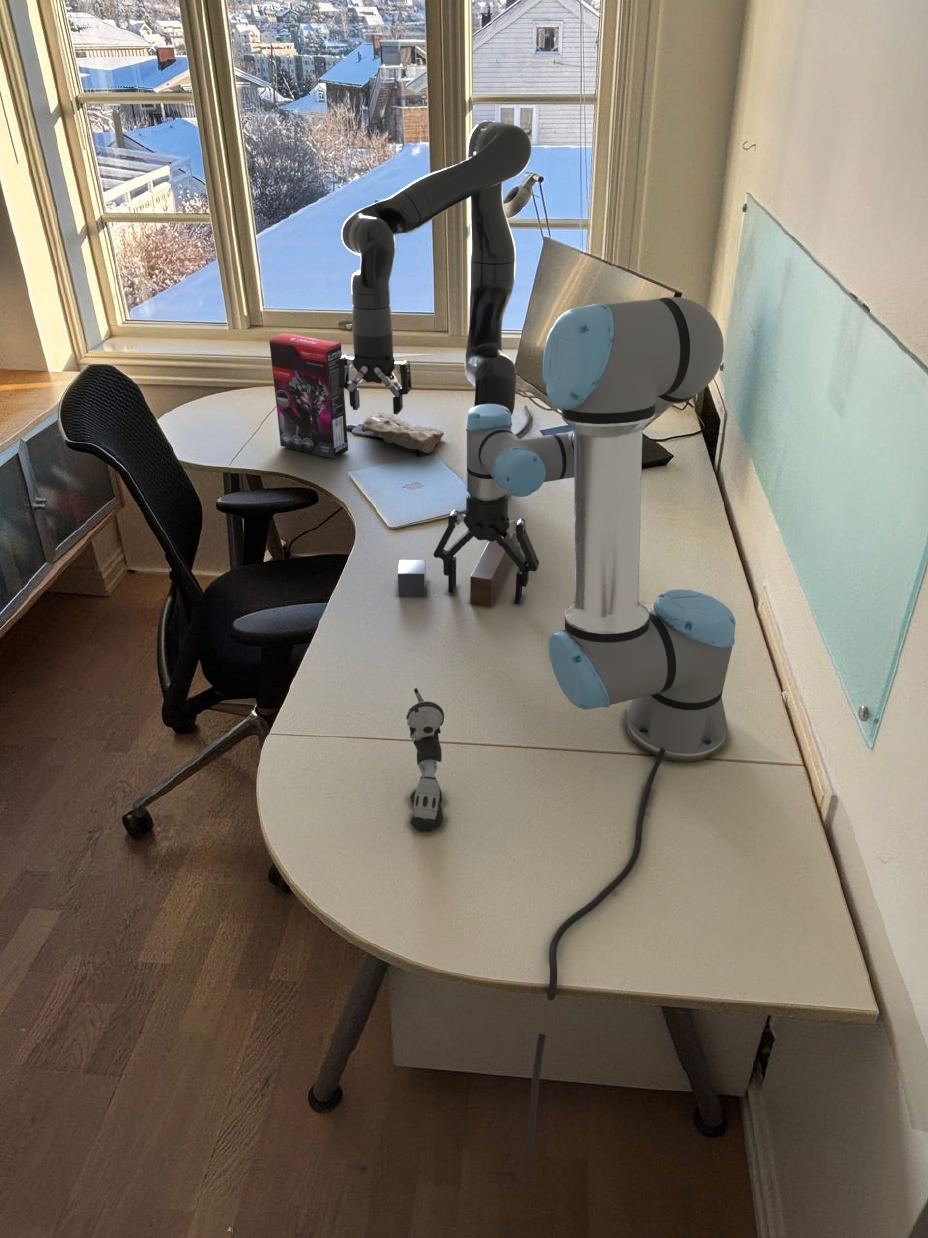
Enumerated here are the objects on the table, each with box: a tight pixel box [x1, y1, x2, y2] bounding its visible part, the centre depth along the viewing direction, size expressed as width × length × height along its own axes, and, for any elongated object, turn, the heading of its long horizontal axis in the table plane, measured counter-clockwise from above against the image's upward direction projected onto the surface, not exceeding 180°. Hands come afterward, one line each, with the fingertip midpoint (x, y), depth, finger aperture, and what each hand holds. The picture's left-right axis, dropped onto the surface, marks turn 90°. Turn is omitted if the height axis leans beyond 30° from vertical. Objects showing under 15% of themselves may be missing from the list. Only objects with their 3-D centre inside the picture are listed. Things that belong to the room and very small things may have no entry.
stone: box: [360, 412, 444, 454], centre depth 233 cm, size 21×15×6 cm
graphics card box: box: [268, 332, 349, 459], centre depth 224 cm, size 17×7×27 cm, turn 62°
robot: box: [405, 687, 445, 833], centre depth 123 cm, size 20×5×20 cm, turn 3°
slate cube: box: [397, 559, 427, 597], centre depth 176 cm, size 5×5×5 cm
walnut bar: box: [469, 519, 520, 608], centre depth 180 cm, size 24×4×6 cm, turn 165°
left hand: (376, 410), depth 183 cm, fingers open, 8 cm apart
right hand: (485, 594), depth 175 cm, fingers open, 12 cm apart
